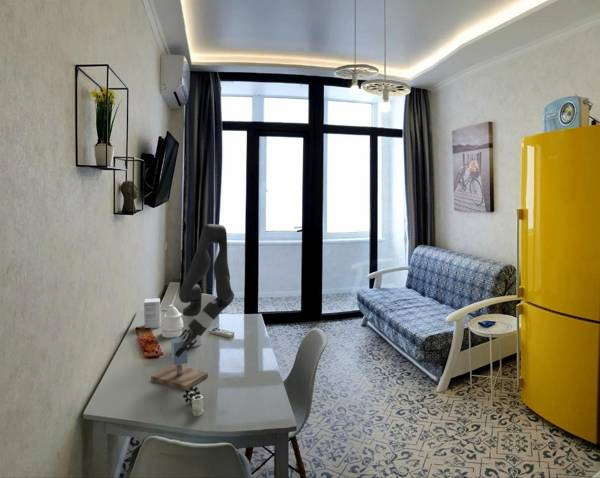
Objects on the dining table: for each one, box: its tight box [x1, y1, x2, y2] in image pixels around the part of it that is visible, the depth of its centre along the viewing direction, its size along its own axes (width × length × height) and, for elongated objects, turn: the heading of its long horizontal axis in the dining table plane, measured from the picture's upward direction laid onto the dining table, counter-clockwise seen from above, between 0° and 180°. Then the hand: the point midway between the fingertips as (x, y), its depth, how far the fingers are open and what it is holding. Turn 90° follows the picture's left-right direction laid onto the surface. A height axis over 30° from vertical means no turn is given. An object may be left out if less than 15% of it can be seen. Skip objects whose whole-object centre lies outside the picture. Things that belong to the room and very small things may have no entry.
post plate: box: [150, 364, 209, 391], centre depth 174 cm, size 20×14×6 cm
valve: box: [182, 386, 205, 417], centre depth 149 cm, size 7×7×12 cm
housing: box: [170, 337, 188, 365], centre depth 173 cm, size 6×6×10 cm
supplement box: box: [143, 297, 162, 329], centre depth 246 cm, size 10×9×17 cm
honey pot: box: [161, 304, 183, 339], centre depth 232 cm, size 13×13×18 cm
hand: (175, 353), depth 172 cm, fingers closed on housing, 5 cm apart
